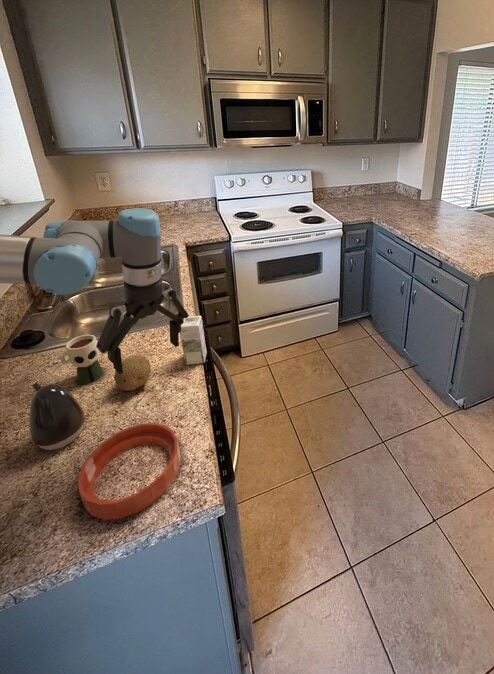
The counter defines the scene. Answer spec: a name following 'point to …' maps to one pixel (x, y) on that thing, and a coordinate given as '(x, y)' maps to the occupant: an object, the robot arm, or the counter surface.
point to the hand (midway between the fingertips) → (148, 356)
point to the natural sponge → (133, 372)
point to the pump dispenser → (54, 417)
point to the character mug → (84, 358)
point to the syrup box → (193, 340)
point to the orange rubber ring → (113, 449)
